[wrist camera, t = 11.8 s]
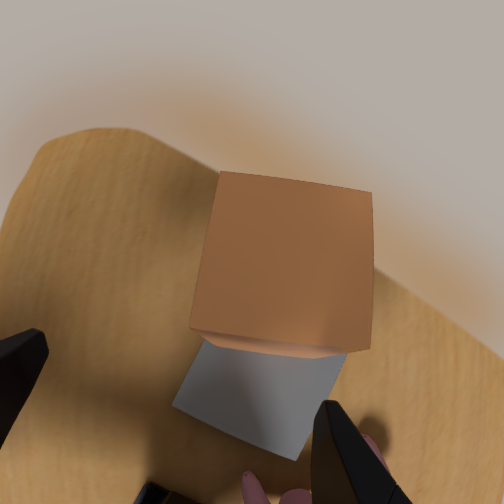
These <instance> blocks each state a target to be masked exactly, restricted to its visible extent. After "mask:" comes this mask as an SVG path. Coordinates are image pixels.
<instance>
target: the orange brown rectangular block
mask: <svg viewBox="0 0 504 504" xmlns="http://www.w3.org/2000/svg"><path fill="white" fill-rule="evenodd" d="M373 246H374V244H373V209H372V193H371V192H365V191H360V190H354V189H349V188H343V187H336V186H331V185H325V184H318V183H312V182H304V181H299V180H292V179H284V178H277V177H269V176H261V175H253V174H243V173H235V172H226V171H220V175H219V180H218V184H217V189H216V193H215V197H214V202H213V206H212V211H211V216H210V220H209V225H208V230H207V234H206V239H205V244H204V249H203V254H202V259H201V264H200V269H199V274H198V279H197V284H196V290H195V295H194V300H193V306H192V311H191V317H190V323H189V328H190V329H191V330H193V331H194V332H196V333H197V334H199V335H200V336H202V337H203V338H205V339H206V340H208V341H209V342H211V343H212V344H214V345H215V346H217V347H222V348H229V349H236V350H243V351H250V352H257V353H265V354H273V355H282V356H291V357H301V358H312V359H315V358H322V357H328V356H334V355H340V354H346V353H351V352H357V351H362V350H367V349H370V344H371V329H372V310H373V278H374V249H373V248H374V247H373Z"/></svg>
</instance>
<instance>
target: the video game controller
mask: <svg viewBox="0 0 504 504" xmlns="http://www.w3.org/2000/svg"><path fill="white" fill-rule="evenodd" d="M361 435H362V436H363V437H364V439H365V440H366V442H367V443H368V444H369V446H370V447H371V449H372V450H373V451H374V453H375V454H376V455H377V457H378V458H379V460H380V461H381V462H382V464H383V465H384V466H385V468H386V469H387V470H388V472H389V473H390V471H389V469H388V467H387V465H386V463H385V461H384V458H383V456H382V455H381V453H380V451H379V449H378V447H377V445H376V444H375V442H374V441H373V440H372V439H371V438H370V437H369V436H368V435H366V434H363V433H362V434H361ZM390 475H391V473H390ZM241 488H242V493H243V498H244V504H271V503H270V502H269V501H268V499H267V497H266V495H265V492H264V490H263V488H262V486H261V484H260V482H259V481H258V479H257V478H256V476H255V475H254V474H253V473H252V472H251V471H249V470H247V471H245V472H244V473H243V475H242V479H241ZM279 504H312V495H311V493H310V492H309V491H308V490H305V489H292V490H290V491H287V492H286V493H284V494H283V495H282V497H281V499H280V502H279Z"/></svg>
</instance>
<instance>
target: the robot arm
mask: <svg viewBox="0 0 504 504" xmlns="http://www.w3.org/2000/svg"><path fill="white" fill-rule="evenodd" d="M48 355H49V349H48V345H47V342H46V338H45V334H44V333H43V332H42V331H40V330H38V329H35V328H32V329H29V330H26V331H24V332H21V333H19V334H16V335H13V336H11V337H8V338H6V339H3V340H0V449H1V447H2V445H3V443H4V441H5V439H6V437H7V435H8V433H9V431H10V429H11V427H12V426H13V424H14V422H15V420H16V418H17V416H18V414H19V413H20V411H21V409H22V407H23V406H24V404H25V402H26V400H27V398H28V397H29V395H30V393H31V391H32V389H33V387H34V385H35V383H36V381H37V379H38V377H39V374H40V372H41V370H42V368H43V366H44V364H45V362H46V360H47V358H48ZM310 466H311V493H312V504H413V503H412V502H411V501H410V500H409V498H408V497H407V496H406V495H405V493H404V492H403V491H402V489H401V488H400V487H399V485H396V481H395V480H394V479H393V477H392V476H391V475H390V473H389V472H388V470H387V469H386V468H385V466H384V465H383V464H382V462H381V461H380V460H379V458H378V457H377V455H376V454H375V453H374V451H373V450H372V449H371V447H370V446H369V444H368V443H367V442H366V440H365V439H364V437H363V436H362V435H361V433H360V432H359V431H358V429H357V428H356V426H355V425H354V424H353V422H352V421H351V419H350V418H349V417H348V415H347V414H346V412H345V411H344V410H343V408H342V407H341V405H340V404H339V403H338V402H337V401H335V400H323V401H322V403H321V405H320V407H319V409H318V411H317V413H316V415H315V418H314V423H313V438H312V452H311V465H310ZM148 486H151V487H152V488H153V490H150V489H149V488H148ZM134 504H200V503H197V502H195V501H193V500H191V499H189V498H187V497H184V496H182V495H180V494H178V493H176V492H174V491H172V492H170V491H168V490H167V489H165V488H163V487H161V486H159V485H157V484H155V483H153V482H147V483H146V484H145V485H144V486H143V488H142V490H141V492H140V493H139V495H138V497H137V499H136V501H135V503H134Z"/></svg>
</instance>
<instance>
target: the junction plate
mask: <svg viewBox="0 0 504 504" xmlns="http://www.w3.org/2000/svg"><path fill="white" fill-rule="evenodd" d="M346 356H347V353H346V354H340V355H334V356H328V357H322V358H315V359H312V358H301V357H291V356H282V355H273V354H265V353H257V352H250V351H243V350H236V349H229V348H222V347H217V346H215V345H214V344H212V343H211V342H209V341H208V340H206V339H205V340H204V342H203V344H202V346H201V348H200V350H199V352H198V354H197V356H196V358H195V360H194V361H193V363H192V365H191V367H190V369H189V371H188V373H187V375H186V377H185V379H184V381H183V383H182V385H181V387H180V389H179V391H178V393H177V395H176V396H175V398H174V400H173V402H172V404H171V405H172V406H174V407H176V408H178V409H179V410H181V411H183V412H185V413H187V414H189V415H191V416H193V417H194V418H196V419H198V420H200V421H202V422H204V423H206V424H208V425H210V426H212V427H215V428H217V429H219V430H221V431H223V432H225V433H227V434H229V435H232V436H234V437H236V438H238V439H241V440H243V441H245V442H248V443H250V444H252V445H255V446H257V447H260V448H262V449H265V450H267V451H270V452H272V453H275V454H277V455H280V456H283V457H285V458H288V459H291V460H294V461H296V460H297V458H298V456H299V454H300V452H301V451H302V449H303V447H304V445H305V443H306V441H307V439H308V437H309V435H310V433H311V432H312V430H313V423H314V418H315V415H316V413H317V411H318V409H319V407H320V405H321V403H322V401H323V400H327V399H328V397H329V394H330V392H331V390H332V388H333V386H334V383H335V381H336V379H337V377H338V374H339V372H340V370H341V368H342V365H343V363H344V360H345V358H346Z"/></svg>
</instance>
